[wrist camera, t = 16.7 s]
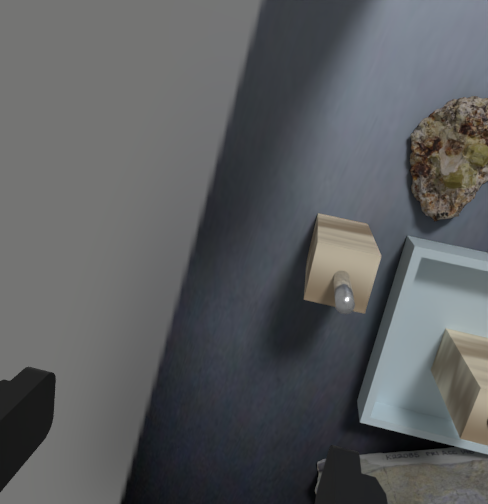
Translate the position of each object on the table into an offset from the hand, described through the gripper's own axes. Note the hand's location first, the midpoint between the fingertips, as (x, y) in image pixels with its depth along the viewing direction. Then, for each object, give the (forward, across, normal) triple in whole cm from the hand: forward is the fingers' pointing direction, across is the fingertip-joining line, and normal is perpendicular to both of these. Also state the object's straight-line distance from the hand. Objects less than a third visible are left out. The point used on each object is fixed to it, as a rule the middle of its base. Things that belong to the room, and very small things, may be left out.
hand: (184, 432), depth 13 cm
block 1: (+32, -6, +2) cm, 33 cm away
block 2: (+32, -20, +10) cm, 39 cm away
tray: (+32, -20, +9) cm, 39 cm away
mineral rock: (+33, -14, -7) cm, 36 cm away
